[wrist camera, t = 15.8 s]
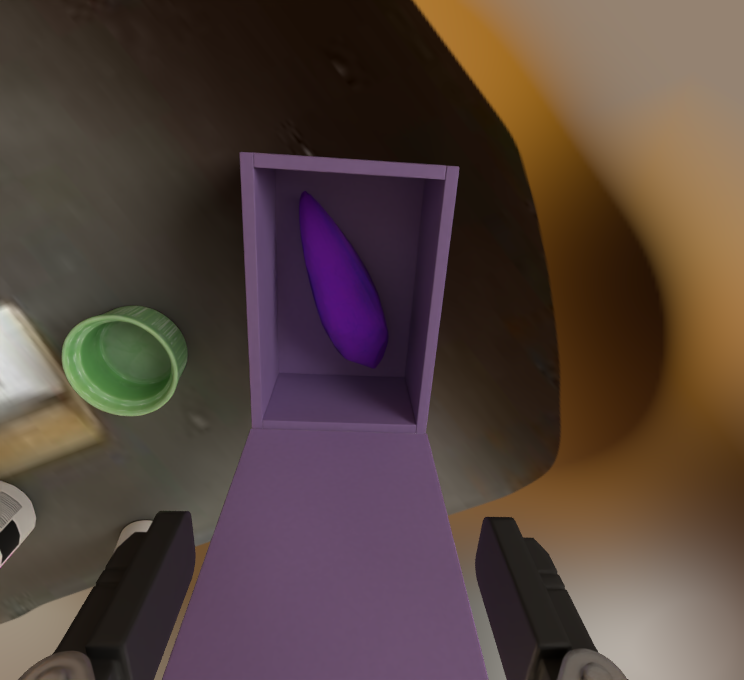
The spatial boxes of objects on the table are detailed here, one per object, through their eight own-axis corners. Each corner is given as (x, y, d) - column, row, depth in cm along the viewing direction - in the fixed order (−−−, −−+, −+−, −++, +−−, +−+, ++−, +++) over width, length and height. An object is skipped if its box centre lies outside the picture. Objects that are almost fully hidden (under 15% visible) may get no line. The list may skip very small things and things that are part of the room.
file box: (266, 153, 34) (239, 151, 26) (434, 164, 35) (459, 166, 27) (271, 376, 41) (251, 429, 33) (411, 381, 42) (425, 434, 34)
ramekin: (150, 408, 42) (129, 435, 38) (68, 343, 39) (36, 364, 35) (215, 351, 40) (200, 372, 36) (134, 277, 38) (108, 292, 33)
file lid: (122, 786, 15) (145, 857, 17) (514, 779, 15) (489, 847, 18) (250, 428, 33) (253, 483, 35) (427, 433, 34) (419, 487, 36)
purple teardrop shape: (329, 177, 31) (405, 367, 35) (334, 181, 35) (401, 348, 39) (266, 204, 31) (348, 388, 35) (279, 204, 36) (351, 367, 40)
